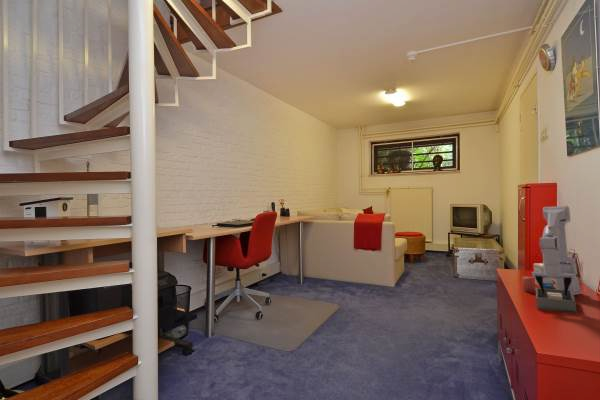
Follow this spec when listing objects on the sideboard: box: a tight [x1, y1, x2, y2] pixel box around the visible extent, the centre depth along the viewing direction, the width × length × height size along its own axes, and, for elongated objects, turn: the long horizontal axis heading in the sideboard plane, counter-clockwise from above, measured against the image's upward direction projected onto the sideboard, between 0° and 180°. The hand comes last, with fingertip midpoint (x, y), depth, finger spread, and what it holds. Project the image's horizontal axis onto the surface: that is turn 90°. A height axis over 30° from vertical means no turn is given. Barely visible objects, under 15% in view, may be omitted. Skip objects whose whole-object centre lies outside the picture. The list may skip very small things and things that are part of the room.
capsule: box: [521, 276, 536, 293], centre depth 165 cm, size 5×5×7 cm
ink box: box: [533, 262, 554, 289], centre depth 171 cm, size 9×5×12 cm, turn 168°
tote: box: [535, 287, 577, 314], centre depth 142 cm, size 17×13×5 cm
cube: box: [547, 292, 562, 300], centre depth 139 cm, size 5×5×5 cm
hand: (554, 294), depth 139 cm, fingers open, 7 cm apart
